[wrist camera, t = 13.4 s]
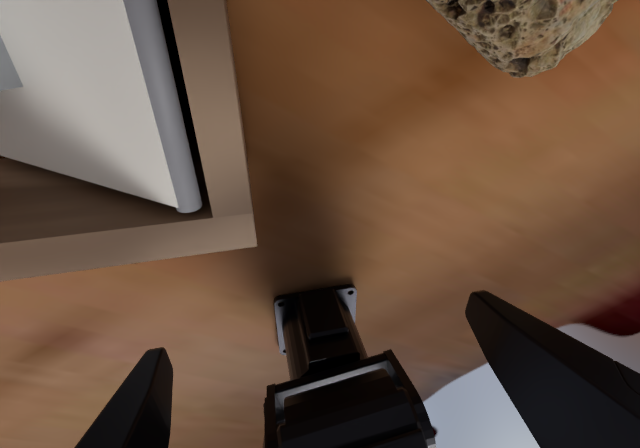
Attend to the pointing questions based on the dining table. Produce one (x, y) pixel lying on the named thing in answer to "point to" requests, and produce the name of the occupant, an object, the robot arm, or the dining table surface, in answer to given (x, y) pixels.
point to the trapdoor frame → (133, 211)
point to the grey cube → (7, 70)
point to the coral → (524, 29)
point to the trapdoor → (96, 97)
